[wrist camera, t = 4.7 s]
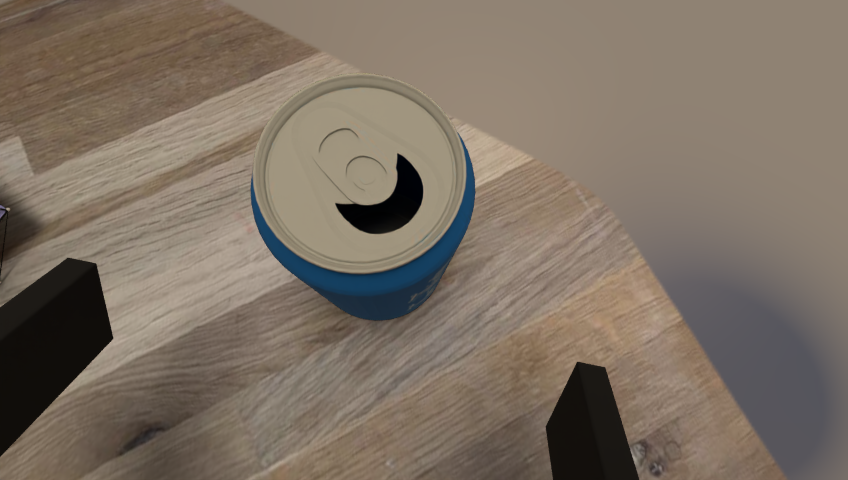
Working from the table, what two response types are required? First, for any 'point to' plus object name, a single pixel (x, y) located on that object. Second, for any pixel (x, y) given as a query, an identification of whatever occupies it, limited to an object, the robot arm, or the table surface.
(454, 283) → the table surface
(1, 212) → the geometric puzzle
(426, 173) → the beverage can
